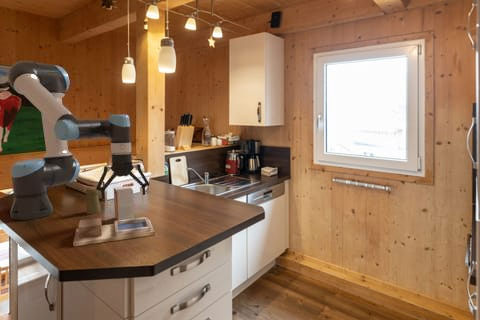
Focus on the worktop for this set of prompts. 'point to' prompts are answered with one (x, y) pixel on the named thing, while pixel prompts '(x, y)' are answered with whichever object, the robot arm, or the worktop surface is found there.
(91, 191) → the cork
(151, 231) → the board
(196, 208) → the worktop surface
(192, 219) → the worktop surface
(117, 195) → the small box
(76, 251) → the worktop surface
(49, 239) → the worktop surface
